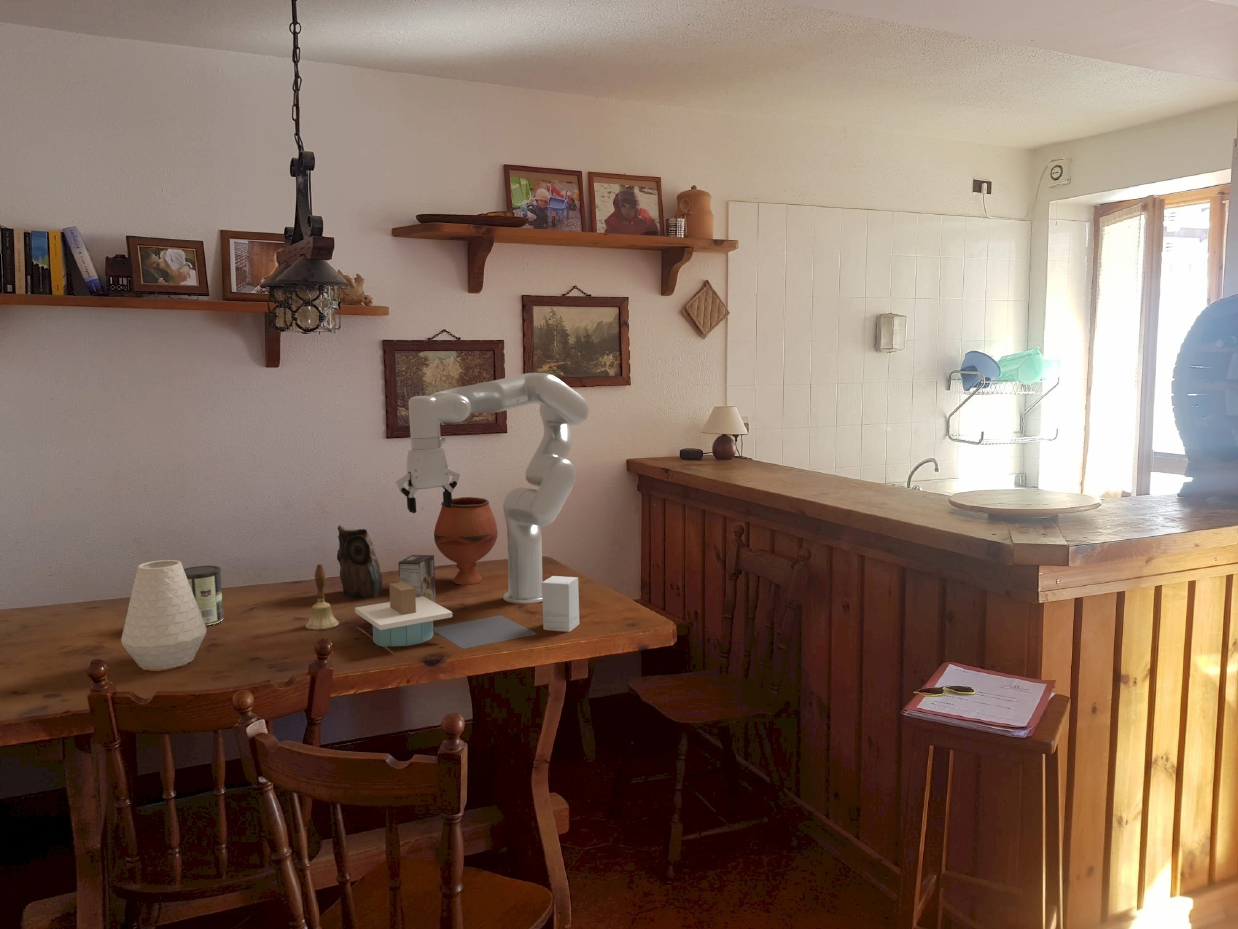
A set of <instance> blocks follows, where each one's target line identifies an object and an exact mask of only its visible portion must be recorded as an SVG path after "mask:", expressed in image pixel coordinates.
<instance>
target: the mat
mask: <svg viewBox="0 0 1238 929" xmlns="http://www.w3.org/2000/svg"><path fill="white" fill-rule="evenodd" d="M433 633H436V634H438V635H439V636H440V637H443V638H445V639H446V640H447V641H449V642H450V643H452V644H454V645H455V646H457V647H459V648H460V649H462V650H465V649H470V648H474V647H475V648H476V647H479V646H480V647H481V646H485V645H489V644H495V643H500V642H505V641H511V640H515V639H520V638H524V637H530V636H536V635H538V633H536V632H535V631H533V630H530V629H529V628H527V627H524V626H522V625H521V624H519V623H517V622H515V621H513V620H511V619H509V618H506V617H505V616H503V615H495V616H489V617H484V618H478V619H473V620H468V621H467V620H466V621H463V622H455V623H451V624H445V625H441V626H435V627H434V626H433Z"/></svg>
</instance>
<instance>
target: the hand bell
mask: <svg viewBox="0 0 1238 929" xmlns="http://www.w3.org/2000/svg"><path fill="white" fill-rule="evenodd" d="M314 582H315V585H316V589H317V602H316V603H315V604H313V605H312V608H311V616H310V617H309V620H308V621H307V622H306V624H305V628H306V629H307V628H308V629H307V630H311V629H313V630H312V631H320V630H321V631H322V630H330V629H332V628H336V627H337V626H339V624H340V622H339V620H337V619H336V618H335V615H333V611H332V608H331V604H330V603H329V602H326V601H325V583H326V572H325V570H324V567H323V564H321V563H320V564H319V563H318V564H316V569H315V571H314Z"/></svg>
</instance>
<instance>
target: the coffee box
mask: <svg viewBox="0 0 1238 929" xmlns="http://www.w3.org/2000/svg"><path fill="white" fill-rule="evenodd" d="M397 563H398V564H397V565H398V582H404V583H406V584H408V585H410V586H412V587H414V588H415V598H417V597H423V596H424V597H425V598H427V599H429V600H431V601H433V602H435V603H436V604H437V599H436V596H437V595H436V578H435V576H436V573H435V570H436V569H435V555H434V554H412V555H410V556H408V557H406V558H403V559H402V560H400V561H398V562H397Z"/></svg>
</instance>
